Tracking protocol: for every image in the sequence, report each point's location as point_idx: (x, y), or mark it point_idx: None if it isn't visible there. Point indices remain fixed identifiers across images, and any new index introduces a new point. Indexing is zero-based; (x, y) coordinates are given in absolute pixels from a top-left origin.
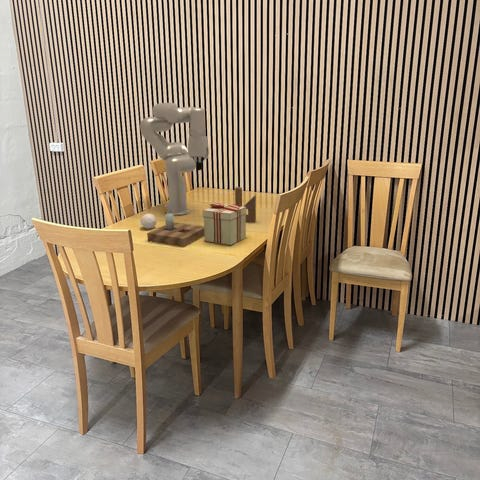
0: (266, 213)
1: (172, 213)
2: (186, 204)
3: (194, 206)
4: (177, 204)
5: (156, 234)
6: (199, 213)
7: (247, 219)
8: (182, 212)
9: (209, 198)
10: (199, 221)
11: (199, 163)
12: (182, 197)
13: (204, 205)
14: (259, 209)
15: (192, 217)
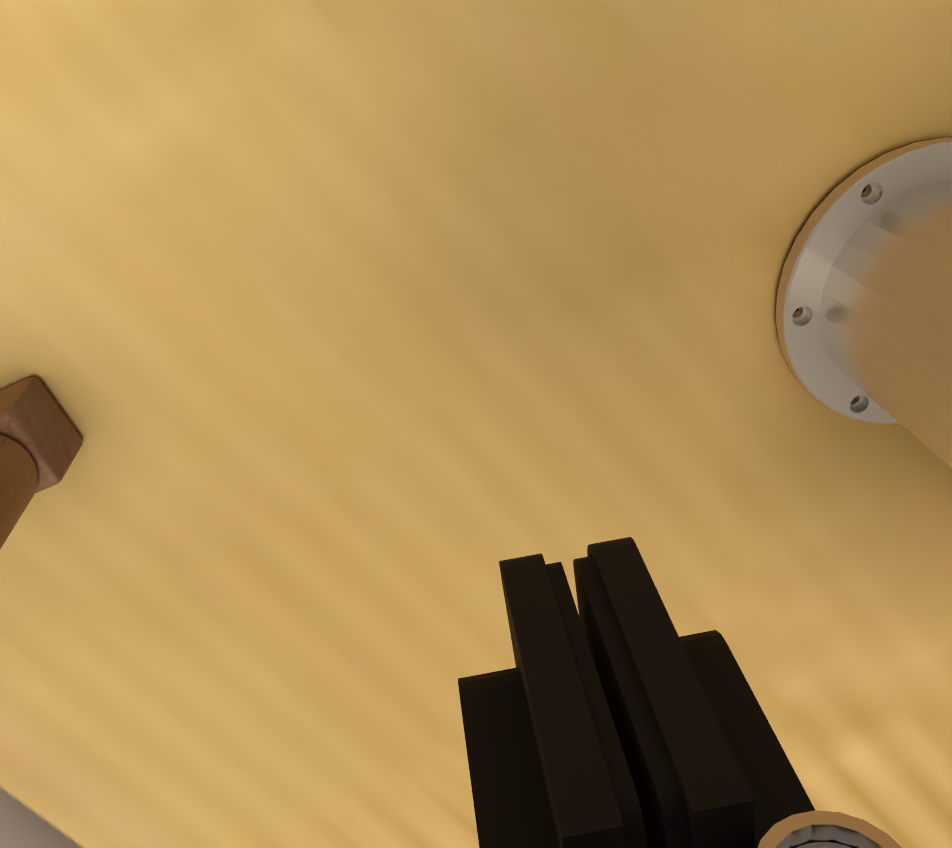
0: (27, 780)
1: (935, 146)
2: (869, 389)
3: (875, 575)
4: (945, 242)
5: None
6: (658, 405)
7: None
8: (833, 260)
9: None
10: (425, 127)
11: (556, 835)
12: (943, 350)
13: (794, 654)
14: (198, 833)
15: (628, 223)
